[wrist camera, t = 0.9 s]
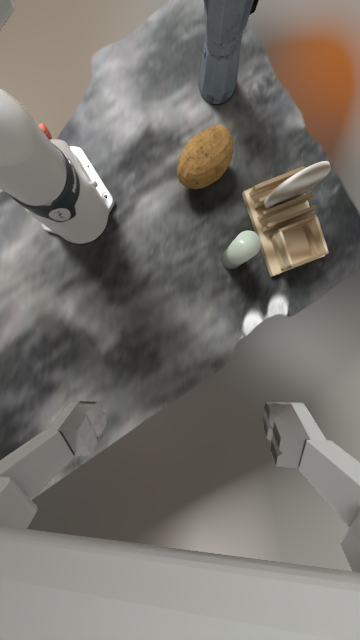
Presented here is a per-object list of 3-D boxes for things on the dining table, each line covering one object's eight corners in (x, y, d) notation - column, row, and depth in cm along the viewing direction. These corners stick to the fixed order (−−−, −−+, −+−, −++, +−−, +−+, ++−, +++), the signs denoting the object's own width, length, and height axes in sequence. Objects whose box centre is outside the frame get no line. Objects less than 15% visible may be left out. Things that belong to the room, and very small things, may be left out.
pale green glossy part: (218, 253, 46) (230, 236, 35) (237, 245, 46) (255, 226, 35) (225, 272, 47) (239, 261, 36) (244, 264, 46) (264, 251, 36)
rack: (242, 194, 45) (268, 147, 32) (294, 173, 45) (342, 118, 32) (270, 276, 47) (306, 265, 34) (321, 257, 46) (377, 237, 33)
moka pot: (180, 86, 43) (181, -103, 23) (232, 45, 43) (280, -185, 23) (203, 121, 44) (223, -34, 24) (254, 81, 43) (320, -112, 23)
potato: (167, 177, 45) (164, 149, 37) (211, 139, 44) (218, 103, 36) (191, 209, 45) (194, 188, 37) (235, 172, 45) (247, 143, 37)
